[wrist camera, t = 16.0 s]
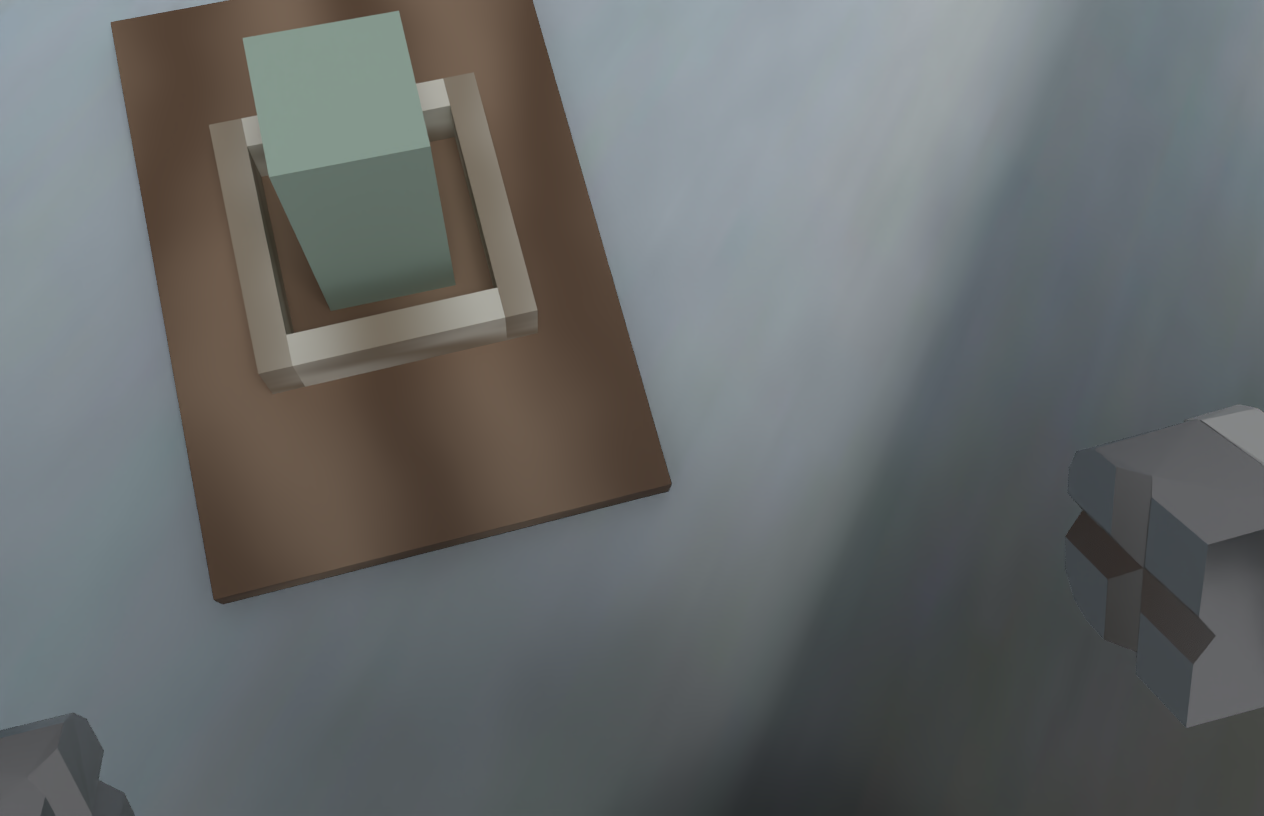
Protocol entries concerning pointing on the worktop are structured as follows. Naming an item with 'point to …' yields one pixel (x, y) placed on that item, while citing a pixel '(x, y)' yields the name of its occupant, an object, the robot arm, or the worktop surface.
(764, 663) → the worktop surface
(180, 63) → the walnut board
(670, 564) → the worktop surface
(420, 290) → the green block
